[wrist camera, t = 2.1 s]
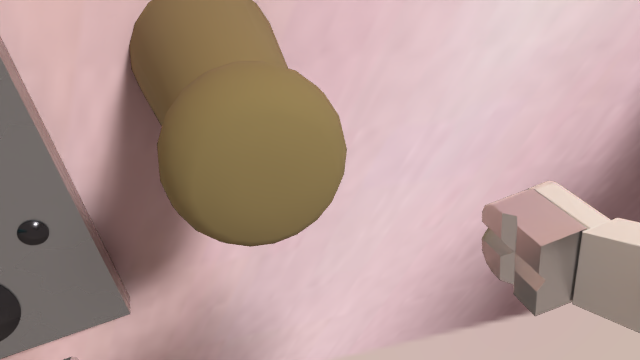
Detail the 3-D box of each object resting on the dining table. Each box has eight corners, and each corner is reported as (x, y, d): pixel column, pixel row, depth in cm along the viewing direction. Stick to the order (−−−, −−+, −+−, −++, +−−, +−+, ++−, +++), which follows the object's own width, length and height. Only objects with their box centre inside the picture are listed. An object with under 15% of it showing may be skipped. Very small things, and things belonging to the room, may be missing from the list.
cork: (262, 127, 25) (347, 277, 16) (124, 116, 23) (134, 284, 14) (288, -5, 23) (406, 86, 14) (135, -34, 20) (156, 54, 11)
